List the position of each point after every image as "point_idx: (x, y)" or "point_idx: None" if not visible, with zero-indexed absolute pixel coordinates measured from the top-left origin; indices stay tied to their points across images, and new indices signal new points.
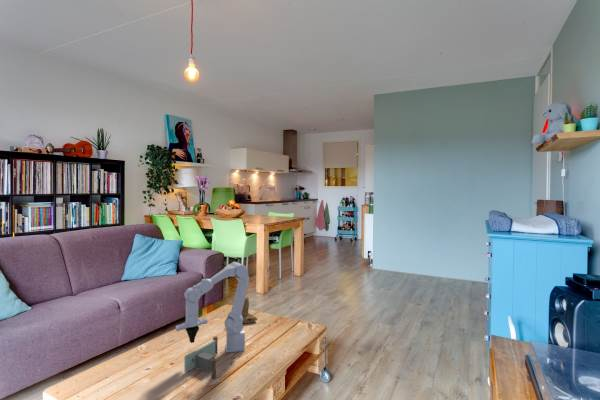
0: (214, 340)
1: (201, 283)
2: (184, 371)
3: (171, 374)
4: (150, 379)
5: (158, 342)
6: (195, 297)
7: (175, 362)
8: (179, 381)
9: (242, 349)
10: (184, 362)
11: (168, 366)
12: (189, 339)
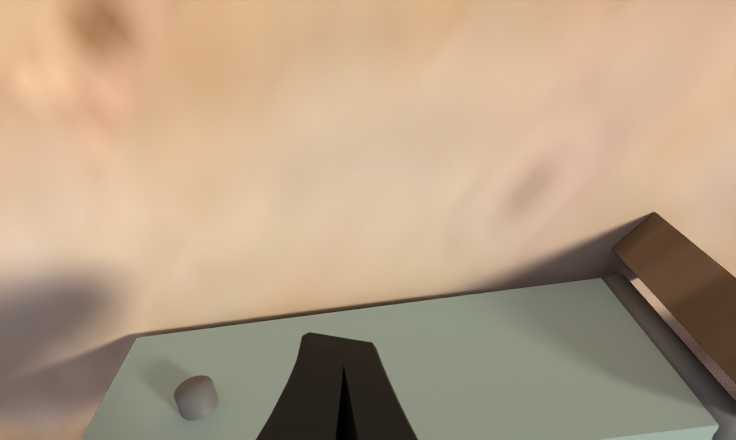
0: (716, 436)
1: None
2: (135, 340)
3: (5, 259)
4: None
5: None
6: None
7: (152, 40)
8: (39, 408)
9: None
10: (89, 423)
11: (26, 62)
12: (294, 366)
